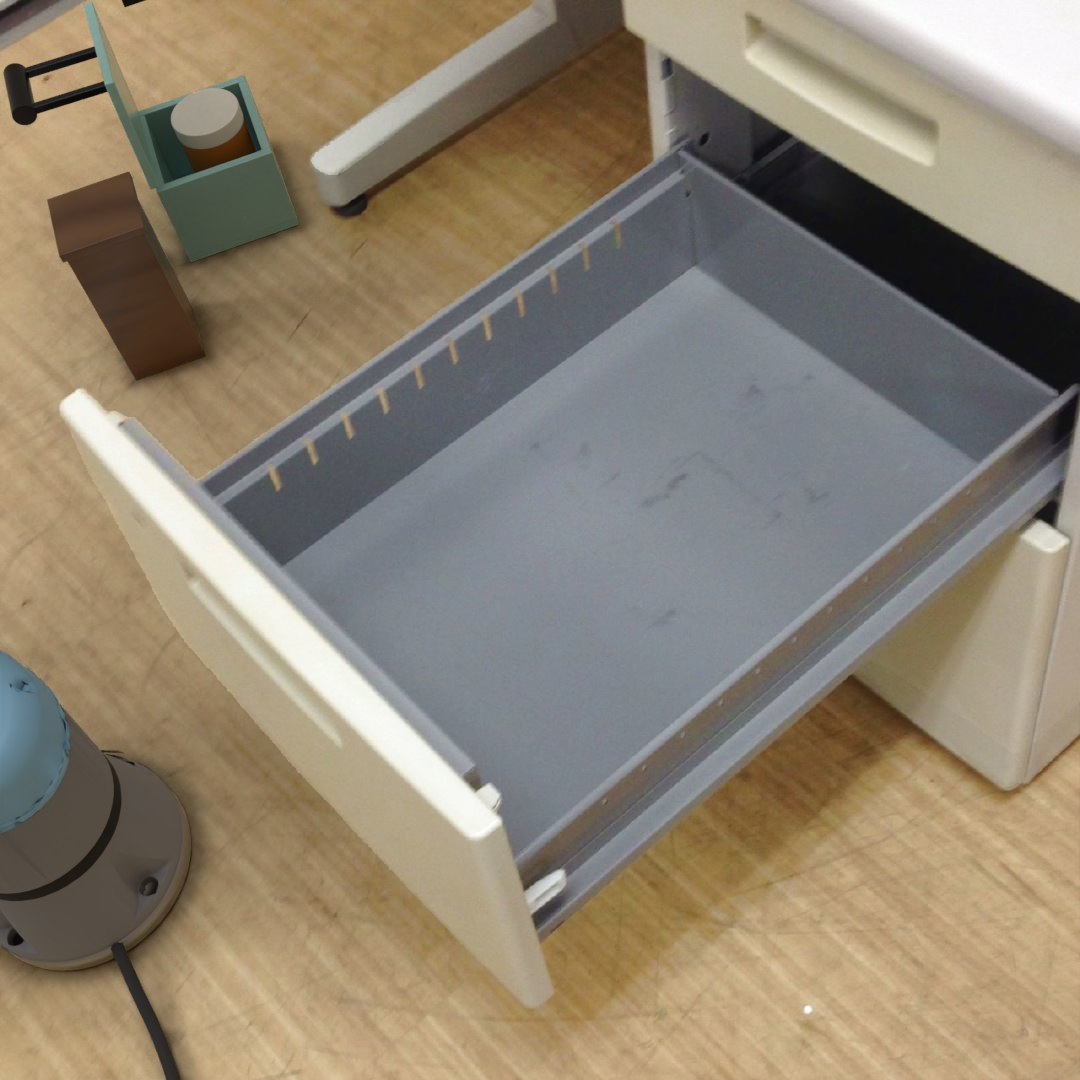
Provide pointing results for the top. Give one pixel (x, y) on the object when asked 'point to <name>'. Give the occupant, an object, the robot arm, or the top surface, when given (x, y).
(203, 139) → the amber jar
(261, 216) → the teal open box
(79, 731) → the robot arm
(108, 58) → the teal box lid
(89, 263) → the plinth
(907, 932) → the top surface
